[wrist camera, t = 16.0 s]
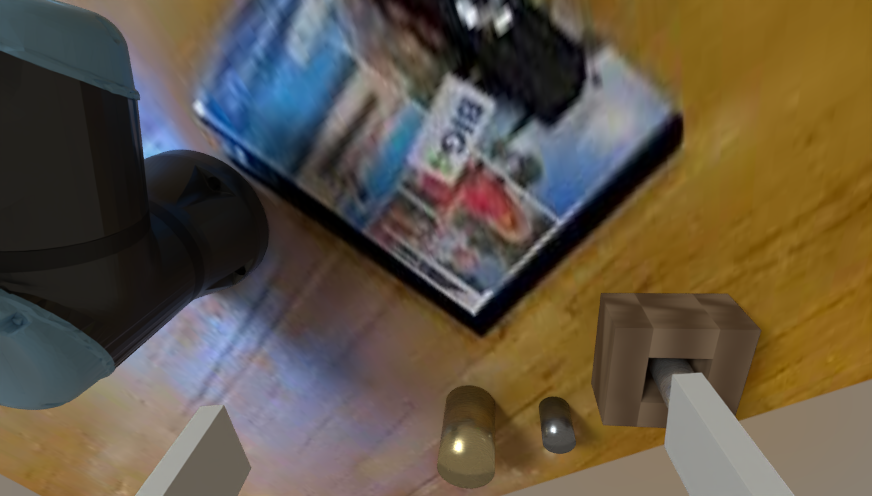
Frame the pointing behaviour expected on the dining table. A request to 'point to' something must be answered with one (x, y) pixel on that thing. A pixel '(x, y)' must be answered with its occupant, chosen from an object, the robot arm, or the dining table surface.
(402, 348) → the dining table surface
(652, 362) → the steel roller
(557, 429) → the short dark roller
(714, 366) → the walnut block
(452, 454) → the fat brass roller
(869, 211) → the dining table surface
